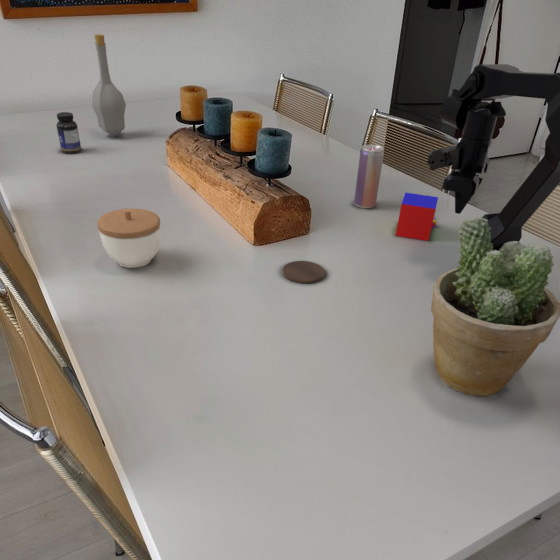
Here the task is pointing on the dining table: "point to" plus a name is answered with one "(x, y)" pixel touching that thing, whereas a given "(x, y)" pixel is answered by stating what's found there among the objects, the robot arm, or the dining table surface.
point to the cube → (416, 216)
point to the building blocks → (434, 223)
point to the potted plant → (490, 311)
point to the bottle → (107, 95)
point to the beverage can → (368, 176)
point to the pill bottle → (68, 133)
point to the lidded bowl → (130, 236)
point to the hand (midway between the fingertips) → (457, 213)
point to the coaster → (303, 272)
